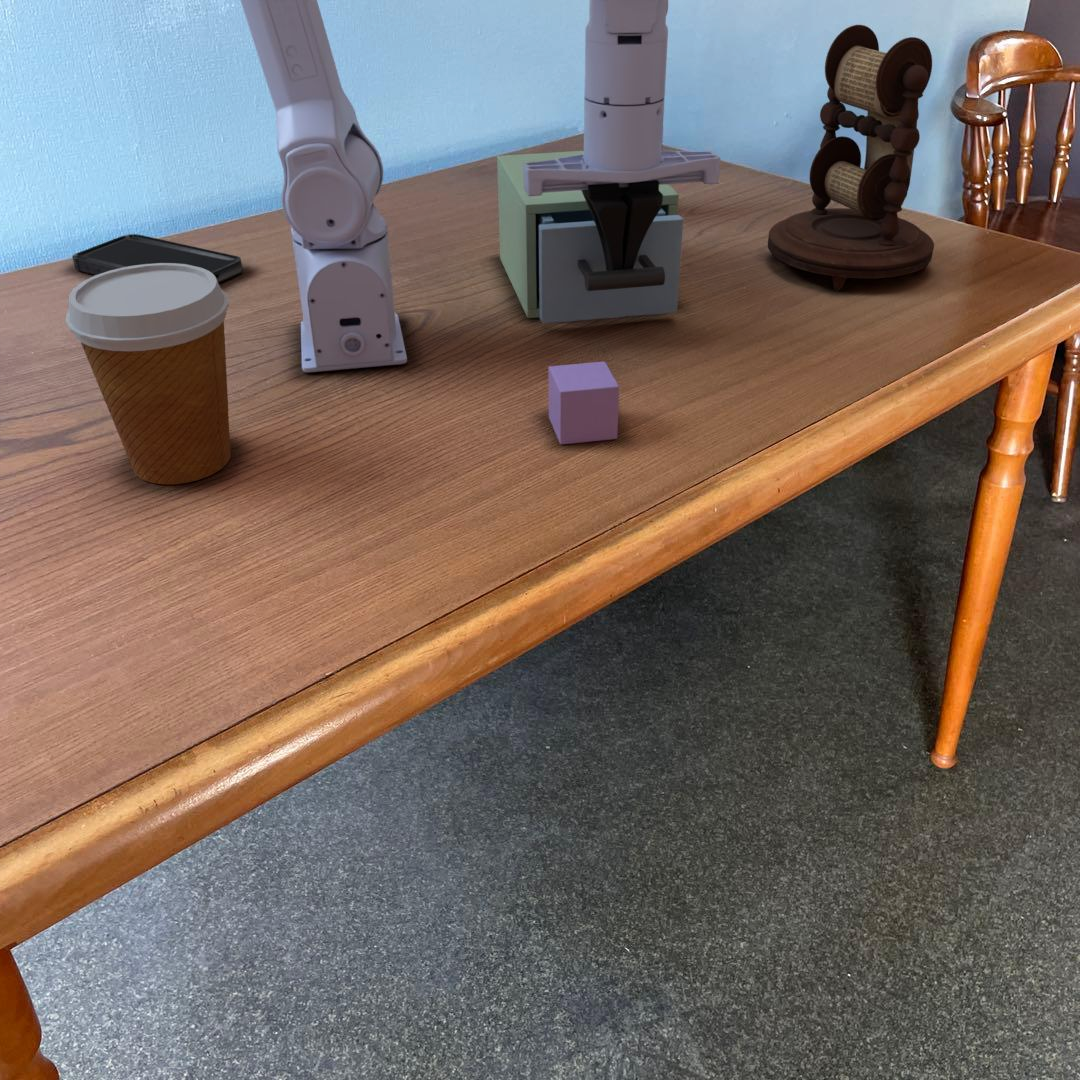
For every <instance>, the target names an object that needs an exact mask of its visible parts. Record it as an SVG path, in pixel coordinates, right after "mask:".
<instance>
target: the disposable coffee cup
mask: <svg viewBox="0 0 1080 1080" xmlns="http://www.w3.org/2000/svg"><path fill="white" fill-rule="evenodd" d="M229 302H230V301H229V297H228V294H227V293H226V291H224V290H223V289H222V288H221V286H220V283H218V281H217V279H216V277H215V276H214V274H212V273H211V272H210V271H208V270H206V269H203V268H200V267H196V266H191V265H187V264H177V263H155V264H143V265H134V266H128V267H123V268H119V269H115V270H110V271H107V272H104V273H101V274H98V275H95V274H94V275H93V276H91V277H89V278H87V279H85V280H82V281H81V282H79V284H77V285H76V286H75V287H73V288H72V289H71V291H70V293H69V295H68V311H67V312H66V314H65V319H64V320H65V324H66V325H67V327H68V329H69V331H71V332H72V333H73V335H74V337H75V338H76V339H77V341H78V342H80V345H81V346H82V350H83V351H84V354H85V356H86V359H87V361H88V364H89V366H90V369H91V370H92V373H93V376H94V378H95V381H96V383H97V386H98V387H99V390H100V392H101V395H102V398H103V400H104V402H105V404H106V407H107V410H108V412H109V414H110V417H111V419H112V421H113V424H114V427H115V429H116V431H117V435H118V437H119V438H120V441H121V444H122V447H123V448H124V451H125V454H126V456H127V458H128V461H129V463H130V465H131V468H132V471H133V473H134V475H136V476H137V478H139V479H141V480H142V481H146V482H149V483H152V484H157V485H180V484H187V483H192V482H194V481H195V482H196V481H199V480H201V479H205V478H208V477H210V476H212V475H214V474H216V473H217V472H218V471H220V470H221V469H223V468H224V467H225V466H226V465H227V464H228V462H229V461H230V459H231V439H230V417H229V416H230V415H229V395H228V381H227V377H228V376H227V354H226V336H225V319H226V317H227V310H228V308H229Z"/></svg>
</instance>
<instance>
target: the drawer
mask: <svg viewBox="0 0 1080 1080" xmlns="http://www.w3.org/2000/svg"><path fill="white" fill-rule="evenodd" d="M665 215H666V213H665V212H664V211H663V209H662V208H661V209H660V211H659V212H658V214H657V215H656V217H655V218H654V220H653V222H652V224H651V225H650V227H649V229H648V231H647V233H646V235H645V237H644V239H643V242H642V244H641V247H640V249H639V252H638V255H637V258H636V261H635V264H634V268H633V269H623V270H610V271H606V263H605V257H604V253H603V248H602V244H601V240H600V237H599V234H598V230H597V227H596V225H595V222H594V219H593V217H592V214H591V212H590V210H583V211H568V212H554V213H540V214H536V291H537V293H538V295H539V305H540V317H539V320H540V322H541V323H542V324H544V325H545V324H554V323H555V324H556V323H567V322H578V321H579V322H580V321H591V320H603V319H613V318H624V317H625V318H627V317H636V316H637V317H638V316H639V317H640V316H650V315H660V314H673V313H678V307H679V306H678V305H679V291H680V290H679V289H680V277H681V276H680V275H681V263H682V262H681V259H682V246H683V231H684V230H683V229H684V218H683V217H682V216H681V215H680V214H677V215H670V216H665Z"/></svg>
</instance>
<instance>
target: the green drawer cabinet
mask: <svg viewBox="0 0 1080 1080" xmlns="http://www.w3.org/2000/svg"><path fill="white" fill-rule="evenodd" d="M580 154H584V150H573V151H571V150H570V151H557V152H556V151H555V152H541V153H539V152H538V153H524V154H522V153H521V154H506V155H497V156H496V164H497V165H496V166H497V167H496V169H497V171H496V172H497V199H498V201H497V203H498V234H499V259H500V262H501V264H502V265H503V268H504V270H505V273H506V274H507V276H508V278H509V281H510V283H511V284H512V288H513V289H514V291H515V294H516V296H517V298H518V301H519V303H520V305H521V307H522V309H523V311H524V313H525V315H526V317H527V319H540V305H539V295H538V293H537V291H536V214H540V213H554V212H568V211H583V210H590V209H589V207H588V204H587V202H586V200H585V198H584V196H583V193H582V190H575V191H560V192H545V193H542V195H541V196H528V195H527V194H526V192H525V190H524V182H523V163H528V162H538V161H546V160H552V159H557V158H563V157H569V156H574V155H580ZM659 191H660V192H661V193H662V194H663V201H662V206H661V208H662V209H663V211H664V212H665V213H666V215H665V216H670V215H679V214H678V213H679V211H678V210H679V199H680V198H679V193H678V192H677V191H676V190H675V189H674V188H673V187H672V186H671V184H664V185H659Z"/></svg>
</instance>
